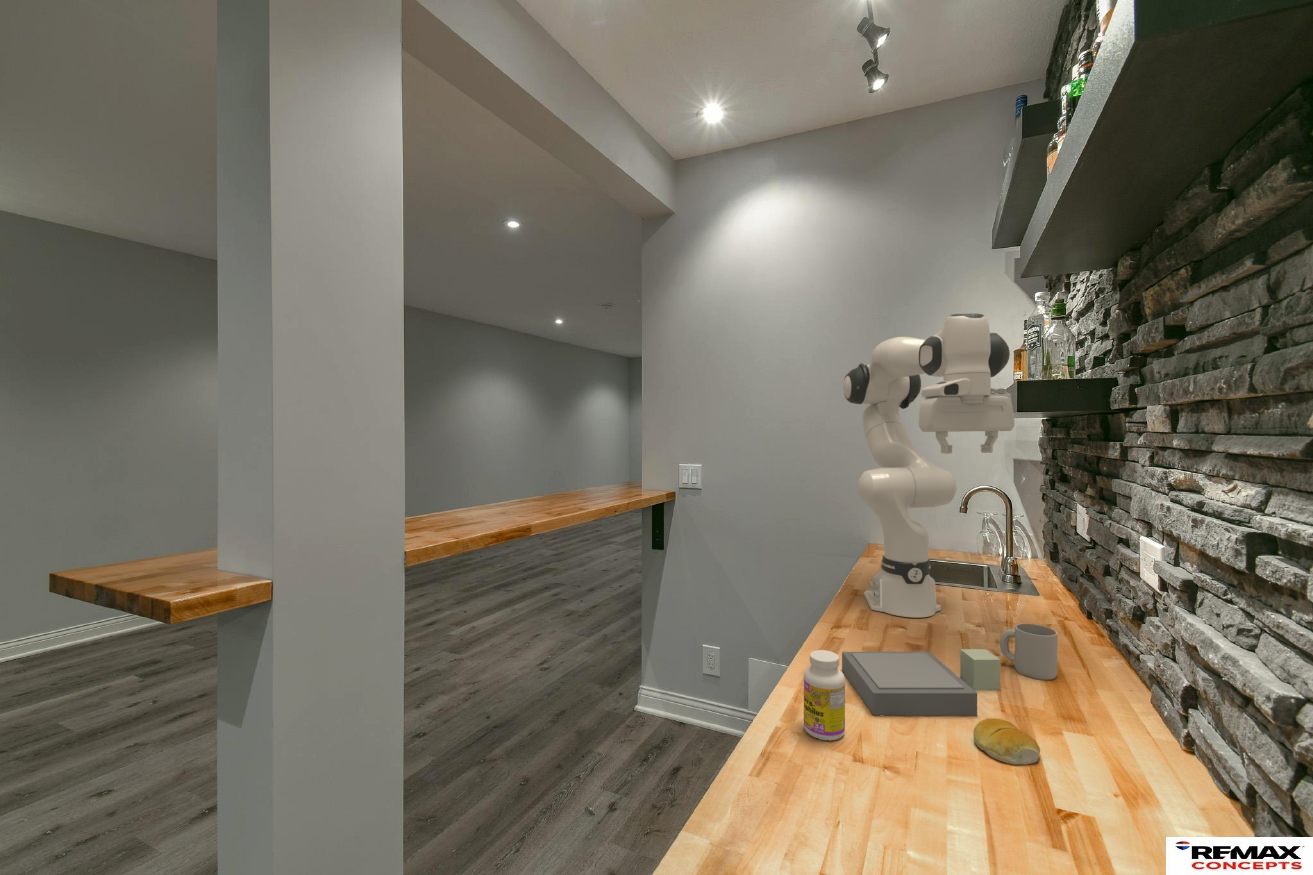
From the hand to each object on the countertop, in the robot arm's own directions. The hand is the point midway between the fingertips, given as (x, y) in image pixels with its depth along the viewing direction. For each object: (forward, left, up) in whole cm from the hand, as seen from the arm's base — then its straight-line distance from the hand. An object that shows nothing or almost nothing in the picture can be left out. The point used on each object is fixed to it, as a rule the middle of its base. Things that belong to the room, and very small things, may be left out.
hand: (966, 453), depth 121 cm
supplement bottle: (+29, -38, -45) cm, 66 cm away
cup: (+6, +10, -45) cm, 46 cm away
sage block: (+12, -3, -45) cm, 46 cm away
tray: (+15, -19, -45) cm, 51 cm away
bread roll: (+34, -11, -45) cm, 57 cm away
